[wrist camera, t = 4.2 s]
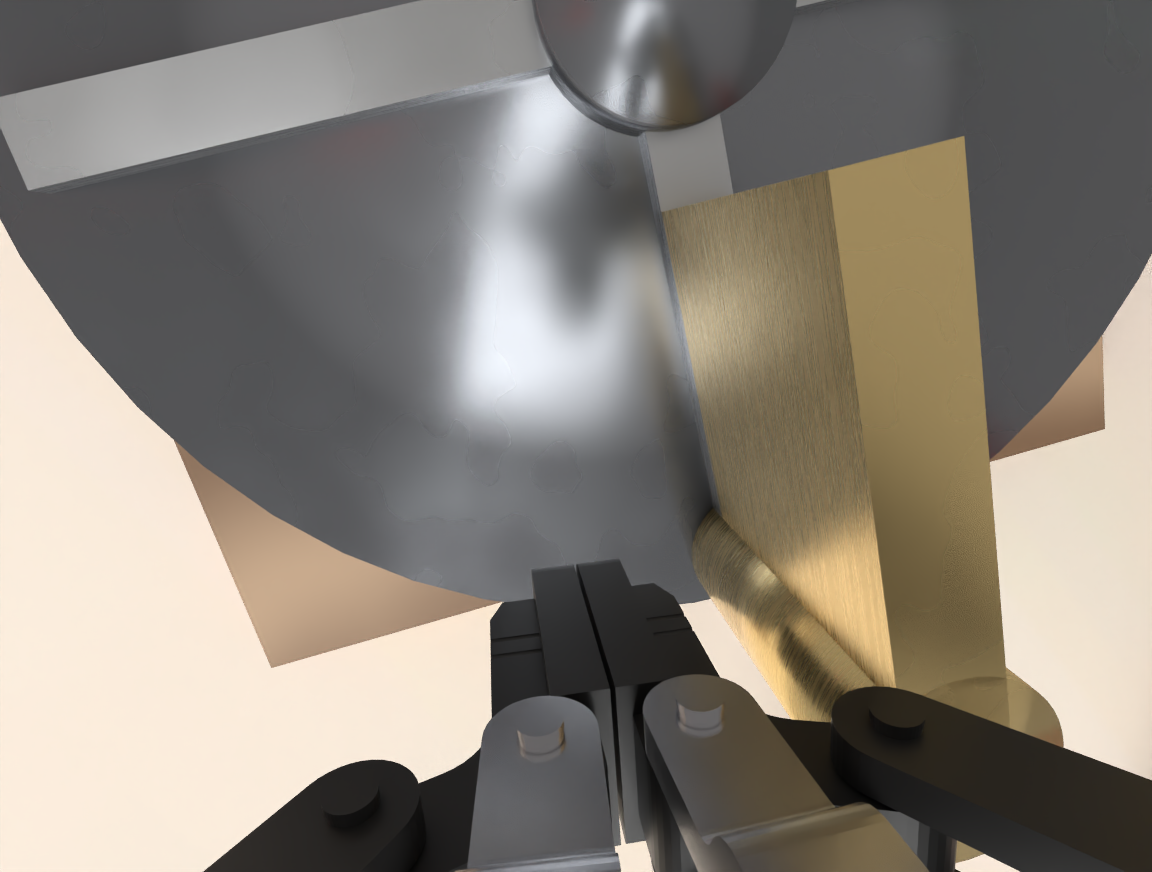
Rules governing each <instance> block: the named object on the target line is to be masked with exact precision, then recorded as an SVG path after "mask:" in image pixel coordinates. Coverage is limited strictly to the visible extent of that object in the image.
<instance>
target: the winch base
mask: <svg viewBox="0 0 1152 872" xmlns="http://www.w3.org/2000/svg"><path fill="white" fill-rule="evenodd" d="M1103 429H1105V419H1104V383H1103V347H1102V336H1101V337H1100V339H1099V340H1098V342H1097V343H1096V345H1095V346H1094V347H1093V348H1092V350H1091V351H1090V352H1089V353H1088V355H1087V356H1086V357H1085V358H1084V360H1083V361H1082V362H1081V363H1080V364H1079V366H1078V367H1077V368H1076V369H1075V371H1074V372H1073V373H1072V374H1071V376H1070V377H1069V378H1068V379H1067V381H1066V382H1065V383H1064V384H1063V386H1062V387H1061V388H1060V389H1059V391H1058V392H1057V393H1056V394H1055V395H1054V397H1053V398H1052V399H1051V400H1050V402H1049V403H1048V404H1047V405H1046V406H1045V407H1044V408H1043V409H1042V410H1041V411H1040V412H1039V413H1038V414H1037V415H1036V416H1035V417H1034V418H1033V419H1032V420H1031V421H1030V422H1029V423H1028V424H1027V425H1026V426H1025V427H1024V428H1023V429H1022V430H1021V431H1020V432H1019V433H1018V434H1017V435H1016V436H1015V437H1014V438H1013V439H1012V440H1011V441H1010V442H1009V443H1008V444H1007V445H1006V446H1005V447H1004V448H1003V449H1002V450H1001V451H1000V452H999V453H997V454H996V455H995V456H994V457H993V458H991V459H990V462H991V461H995V460H998V459H1002V458H1005V457H1009V456H1012V455H1016V454H1019V453H1023V452H1026V451H1030V450H1033V449H1037V448H1040V447H1043V446H1047V445H1050V444H1054V443H1057V442H1061V441H1064V440H1068V439H1071V438H1075V437H1078V436H1082V435H1085V434H1089V433H1092V432H1096V431H1099V430H1103ZM174 441H175V440H174ZM175 444H176V446H177V448H178V451H179V453H180V455H181V458H182V460H183V462H184V465H185V467H186V469H187V472H188V474H189V476H190V479H191V481H192V483H193V486H194V488H195V490H196V493H197V495H198V497H199V500H200V502H201V504H202V507H203V509H204V511H205V514H206V516H207V518H208V521H209V523H210V525H211V528H212V530H213V532H214V535H215V537H216V539H217V542H218V544H219V546H220V549H221V551H222V554H223V556H224V558H225V561H226V563H227V565H228V568H229V570H230V572H231V575H232V577H233V579H234V582H235V584H236V586H237V589H238V591H239V593H240V596H241V598H242V600H243V603H244V605H245V607H246V610H247V612H248V614H249V617H250V619H251V621H252V624H253V626H254V628H255V631H256V633H257V635H258V638H259V640H260V642H261V645H262V647H263V649H264V652H265V654H266V656H267V659H268V661H269V663H270V666H271V668H273V667H276V666H280V665H283V664H287V663H290V662H294V661H297V660H301V659H304V658H308V657H311V656H315V655H318V654H322V653H325V652H329V651H332V650H336V649H339V648H343V647H346V646H350V645H353V644H357V643H360V642H364V641H367V640H371V639H374V638H378V637H381V636H385V635H388V634H392V633H395V632H398V631H402V630H405V629H409V628H412V627H416V626H419V625H423V624H426V623H430V622H433V621H437V620H440V619H444V618H447V617H451V616H454V615H458V614H461V613H465V612H468V611H472V610H475V609H479V608H482V607H486V606H489V605H493V604H496V603H500V601H493V600H485V599H481V598H477V597H474V596H470V595H466V594H462V593H458V592H454V591H451V590H447V589H443V588H439V587H435V586H431V585H428V584H424V583H420V582H416V581H413V580H410V579H408V578H405V577H403V576H400V575H397V574H395V573H392V572H390V571H387V570H385V569H382V568H380V567H377V566H375V565H372V564H370V563H367V562H365V561H362V560H359V559H357V558H354V557H352V556H349V555H347V554H344V553H342V552H340V551H338V550H336V549H335V548H333V547H331V546H329V545H327V544H325V543H323V542H322V541H320V540H318V539H316V538H314V537H312V536H310V535H309V534H307V533H305V532H303V531H301V530H299V529H298V528H296V527H294V526H292V525H290V524H288V523H286V522H285V521H283V520H281V519H279V518H277V517H275V516H273V515H272V514H270V513H269V512H268V511H266V510H265V509H263V508H262V507H260V506H259V505H258V504H256V503H255V502H253V501H252V500H250V499H249V498H248V497H246V496H245V495H243V494H242V493H241V492H239V491H238V490H236V489H235V488H233V487H232V486H231V485H229V484H228V483H226V482H225V481H224V480H222V479H221V478H219V477H218V476H216V475H215V474H214V473H212V472H211V471H209V470H208V469H207V468H205V467H204V466H203V465H201V464H200V463H199V462H198V461H197V460H196V459H195V458H194V457H193V456H191V455H190V454H189V453H188V452H187V451H186V450H185V449H184V448H183V447H181V446H180V445H179V444H178V443H177V442H176V441H175Z"/></svg>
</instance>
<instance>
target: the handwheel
mask: <svg viewBox="0 0 1152 872" xmlns="http://www.w3.org/2000/svg"><path fill="white" fill-rule="evenodd" d="M0 219H1V221H2V223H3V225H4V227H5V228H6V230H7V232H8V234H9V236H10V238H11V240H12V242H13V243H14V245H15V247H16V249H17V251H18V253H19V255H20V257H21V258H22V260H23V261H24V262H25V264H26V265H27V267H28V268H29V270H30V271H31V273H32V274H33V275H34V277H35V278H36V280H37V281H38V283H39V284H40V286H41V287H42V288H43V290H44V291H45V293H46V294H47V296H48V297H49V299H50V300H51V301H52V303H53V304H54V306H55V307H56V309H57V310H58V312H59V313H60V314H61V316H62V317H63V319H64V320H65V322H66V323H67V325H68V326H69V327H70V329H71V330H72V332H73V333H74V335H75V336H76V338H77V339H78V340H79V341H80V342H81V343H82V344H83V346H84V347H85V348H86V349H87V350H88V351H89V352H90V353H91V355H92V356H93V357H94V358H95V359H96V360H97V361H98V363H99V364H100V365H101V366H102V367H103V368H104V369H105V370H106V372H107V373H108V374H109V375H110V376H111V377H112V378H113V380H114V381H115V382H116V383H117V384H118V385H119V386H120V388H121V389H122V390H123V391H124V392H125V393H126V394H127V395H128V397H129V398H130V399H131V400H132V401H133V402H134V403H135V405H136V406H137V407H138V408H139V409H140V410H141V411H143V412H144V413H145V414H146V415H147V416H148V417H149V418H150V419H151V420H153V421H154V422H155V423H156V424H157V425H158V426H159V427H160V428H161V429H163V430H164V431H165V432H166V433H167V434H168V435H169V436H170V437H171V438H173V439H174V440H175V441H176V442H177V443H178V444H179V445H180V446H181V447H183V448H184V449H185V450H186V451H187V452H188V453H189V454H190V455H191V456H193V457H194V458H195V459H196V460H197V461H198V462H199V463H200V464H201V465H203V466H204V467H205V468H207V469H208V470H209V471H211V472H212V473H214V474H215V475H216V476H218V477H219V478H221V479H222V480H224V481H225V482H226V483H228V484H229V485H231V486H232V487H233V488H235V489H236V490H238V491H239V492H241V493H242V494H243V495H245V496H246V497H248V498H249V499H250V500H252V501H253V502H255V503H256V504H258V505H259V506H260V507H262V508H263V509H265V510H266V511H268V512H269V513H270V514H272V515H273V516H275V517H277V518H279V519H281V520H283V521H285V522H286V523H288V524H290V525H292V526H294V527H296V528H298V529H299V530H301V531H303V532H305V533H307V534H309V535H310V536H312V537H314V538H316V539H318V540H320V541H322V542H323V543H325V544H327V545H329V546H331V547H333V548H335V549H336V550H338V551H340V552H342V553H344V554H347V555H349V556H352V557H354V558H357V559H359V560H362V561H365V562H367V563H370V564H372V565H375V566H377V567H380V568H382V569H385V570H387V571H390V572H392V573H395V574H397V575H400V576H403V577H405V578H408V579H410V580H413V581H416V582H420V583H424V584H428V585H431V586H435V587H439V588H443V589H447V590H451V591H454V592H458V593H462V594H466V595H470V596H474V597H477V598H481V599H485V600H493V601H500V602H511V601H519V600H527V599H534V597H533V587H532V576H531V570H532V569H540V568H548V567H556V566H564V565H572V564H573V565H574V567H575V571H576V564H579V563H587V562H595V561H603V560H611V559H620V561H621V564H622V566H623V568H624V570H625V572H626V575H627V577H628V579H629V581H630V584H631V586H634V585H642V584H649V583H655V584H656V585H658V586H659V587H661V588H662V589H664V590H665V591H667V592H669V593H670V594H672V595H673V596H674V597H675V599H676V600H677V602H678V604H686V603H694V602H699V601H703V600H707V599H712V601H713V602H714V604H715V605H716V607H717V608H718V610H719V611H720V613H721V614H722V616H723V617H724V619H725V620H726V622H727V623H728V625H729V626H730V628H731V629H732V631H733V632H734V634H735V635H736V637H737V638H738V640H739V641H740V643H741V644H742V646H743V647H744V649H745V650H746V652H747V653H748V655H749V656H750V658H751V659H752V661H753V662H754V664H755V665H756V667H757V668H758V670H759V671H760V673H761V674H762V676H763V677H764V679H765V680H766V682H767V683H768V685H769V686H770V688H771V689H772V691H773V692H774V694H775V695H776V697H777V698H778V700H779V701H780V703H781V704H782V706H783V707H784V709H785V710H786V712H787V713H788V715H789V716H790V718H791V719H793V720H806V721H818V722H831V710H832V707H833V704H834V703H835V701H836V700H837V699H838V698H839V697H840V696H841V695H843V694H845V693H847V692H848V691H851V690H854V689H857V688H863V687H872V686H882V687H892V688H898V689H903V690H907V691H911V692H914V693H917V694H920V695H922V696H925V697H928V698H930V699H933V700H936V701H939V702H941V703H944V704H947V705H949V706H952V707H955V708H957V709H960V710H963V711H966V712H968V713H971V714H974V715H976V716H979V717H982V718H984V719H987V720H990V721H993V722H995V723H998V724H1001V725H1003V726H1006V727H1009V728H1011V729H1014V730H1017V731H1020V732H1022V733H1025V734H1028V735H1030V736H1033V737H1036V738H1038V739H1041V740H1044V741H1047V742H1049V743H1052V744H1055V745H1057V746H1060V747H1063V735H1062V729H1061V726H1060V722H1059V719H1058V717H1057V715H1056V713H1055V711H1054V710H1053V708H1052V707H1051V706H1050V704H1049V703H1048V701H1047V700H1046V699H1045V698H1044V697H1042V696H1041V695H1040V694H1039V693H1038V692H1037V691H1036V690H1034V689H1033V688H1032V687H1030V686H1029V685H1028V684H1027V683H1025V682H1024V681H1023V680H1022V679H1020V678H1019V677H1018V676H1016V675H1015V674H1014V673H1013V672H1011V671H1010V670H1009V669H1008V668H1006V666H1005V653H1004V640H1003V627H1002V614H1001V602H1000V589H999V576H998V563H997V550H996V537H995V524H994V512H993V499H992V486H991V473H990V459H991V458H993V457H994V456H995V455H996V454H997V453H999V452H1000V451H1001V450H1002V449H1003V448H1004V447H1005V446H1006V445H1007V444H1008V443H1009V442H1010V441H1011V440H1012V439H1013V438H1014V437H1015V436H1016V435H1017V434H1018V433H1019V432H1020V431H1021V430H1022V429H1023V428H1024V427H1025V426H1026V425H1027V424H1028V423H1029V422H1030V421H1031V420H1032V419H1033V418H1034V417H1035V416H1036V415H1037V414H1038V413H1039V412H1040V411H1041V410H1042V409H1043V408H1044V407H1045V406H1046V405H1047V404H1048V403H1049V402H1050V400H1051V399H1052V398H1053V397H1054V395H1055V394H1056V393H1057V392H1058V391H1059V389H1060V388H1061V387H1062V386H1063V384H1064V383H1065V382H1066V381H1067V379H1068V378H1069V377H1070V376H1071V374H1072V373H1073V372H1074V371H1075V369H1076V368H1077V367H1078V366H1079V364H1080V363H1081V362H1082V361H1083V360H1084V358H1085V357H1086V356H1087V355H1088V353H1089V352H1090V351H1091V350H1092V348H1093V347H1094V346H1095V345H1096V343H1097V342H1098V340H1099V339H1100V337H1101V336H1102V334H1103V333H1104V331H1105V330H1106V328H1107V327H1108V325H1109V324H1110V322H1111V320H1112V319H1113V317H1114V316H1115V314H1116V313H1117V311H1118V310H1119V308H1120V307H1121V305H1122V304H1123V302H1124V300H1125V299H1126V297H1127V296H1128V294H1129V293H1130V291H1131V290H1132V288H1133V287H1134V285H1135V283H1136V282H1137V280H1138V279H1139V277H1140V275H1141V273H1142V271H1143V269H1144V267H1145V265H1146V264H1147V262H1148V260H1149V258H1150V256H1151V254H1152V0H0ZM982 854H984V853H982V852H980V851H978V850H976V849H974V848H972V847H970V846H968V845H966V844H963V843H961V842H959V841H957V849H956V861H955V863H958V862H961V861H965V860H969V859H972V858H974V857H977V856H980V855H982Z"/></svg>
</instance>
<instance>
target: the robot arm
mask: <svg viewBox="0 0 1152 872" xmlns="http://www.w3.org/2000/svg"><path fill="white" fill-rule="evenodd" d="M531 576H532V587H533V597H534V599H527V600H519V601H511V602H504V603H502V604H501V606H500V607H499V609H498V610H497V611H496V613H495V614H494V616H493V617H492V619H491V620H490V638H491V697H492V719H491V720H490V721H489V723H488V724H487V726H486V728H485V730H484V732H483V736H482V743H481V748H480V749H479V750H478V751H477V752H476V753H475V754H474V755H473V756H472V757H470V758H469V759H468V760H467V761H465V762H464V763H462V764H461V765H459V766H457V767H456V768H454V769H452V770H450V771H448V772H446V773H443V774H441V775H438V776H436V777H434V778H431V779H429V780H426V781H424V782H421V783H419V784H418V781H417V779H416V777H415V776H414V774H413V773H412V772H411V771H410V770H409V769H408V768H406V767H404V766H403V765H401V764H398V763H395V762H392V761H386V760H366V761H360V762H355V763H351V764H348V765H345V766H342V767H339V768H337V769H335V770H333V771H331V772H328V773H327V774H325V775H323V776H322V777H320V778H318V779H317V780H316V781H314V782H313V783H311V784H310V785H309V786H308V787H306V788H305V789H304V790H303V791H301V792H300V793H299V794H298V795H297V796H295V797H294V798H293V799H292V800H290V801H289V802H288V803H287V804H286V805H284V806H283V807H282V808H281V809H279V810H278V811H277V812H276V813H275V814H273V815H272V816H271V817H270V818H268V819H267V820H266V821H265V822H264V823H262V824H261V825H260V826H259V827H257V828H256V829H255V830H254V831H252V832H251V833H250V834H249V835H248V836H246V837H245V838H244V839H243V840H241V841H240V842H239V843H238V844H237V845H235V846H234V847H233V848H232V849H230V850H229V851H228V852H227V853H226V854H224V855H223V856H222V857H221V858H219V859H218V860H217V861H216V862H215V863H213V864H212V865H211V866H210V867H208V868H207V869H206V870H205V871H204V872H621V869H620V862H619V857H618V853H615V847H614V846H618V845H621V839H620V824H619V817H620V821H621V825H622V830H623V834H624V838H625V842H626V844H628V843H634V842H640V841H646V842H647V846H648V850H649V853H650V857H651V862H652V872H960V871H958V870H956V869H955V861H956V849H957V841H959V842H961V843H963V844H966V845H968V846H970V847H972V848H974V849H976V850H978V851H980V852H982V853H984V854H986V855H988V856H990V857H992V858H994V859H996V860H998V861H1000V862H1002V863H1004V864H1006V865H1008V866H1010V867H1012V868H1014V869H1016V870H1018V871H1020V872H1152V780H1149V779H1146V778H1144V777H1141V776H1138V775H1136V774H1133V773H1130V772H1128V771H1125V770H1122V769H1119V768H1117V767H1114V766H1111V765H1109V764H1106V763H1103V762H1101V761H1098V760H1095V759H1092V758H1090V757H1087V756H1084V755H1082V754H1079V753H1076V752H1074V751H1071V750H1068V749H1065V748H1063V747H1060V746H1057V745H1055V744H1052V743H1049V742H1047V741H1044V740H1041V739H1038V738H1036V737H1033V736H1030V735H1028V734H1025V733H1022V732H1020V731H1017V730H1014V729H1011V728H1009V727H1006V726H1003V725H1001V724H998V723H995V722H993V721H990V720H987V719H984V718H982V717H979V716H976V715H974V714H971V713H968V712H966V711H963V710H960V709H957V708H955V707H952V706H949V705H947V704H944V703H941V702H939V701H936V700H933V699H930V698H928V697H925V696H922V695H920V694H917V693H914V692H911V691H907V690H903V689H898V688H892V687H882V686H872V687H863V688H857V689H854V690H851V691H848V692H847V693H845V694H843V695H841V696H840V697H839V698H838V699H837V700H836V701H835V703H834V704H833V707H832V710H831V722H818V721H806V720H793V719H785V718H779V717H774V716H770V715H767V714H765V713H764V711H763V710H762V709H761V707H760V706H759V705H758V703H757V702H756V701H755V699H754V698H753V697H752V696H751V695H750V694H749V692H747V691H746V690H745V689H744V688H742V687H741V686H739V685H737V684H736V683H734V682H731V681H729V680H727V679H723V678H720V677H719V675H718V673H717V671H716V670H715V668H714V666H713V664H712V662H711V661H710V659H709V657H708V655H707V654H706V652H705V650H704V648H703V646H702V645H701V643H700V641H699V639H698V638H697V636H696V634H695V632H694V631H692V627H691V625H690V623H689V622H688V620H687V618H686V617H684V613H683V611H682V609H681V607H680V606H679V604H678V602H677V600H676V599H675V597H674V596H673V595H672V594H670V593H669V592H667V591H665V590H664V589H662V588H661V587H659V586H658V585H656V584H655V583H649V584H642V585H634V586H631V584H630V581H629V579H628V577H627V575H626V572H625V570H624V568H623V566H622V564H621V561H620V559H611V560H603V561H595V562H587V563H579V564H576V571H575V567H574V565H573V564H572V565H564V566H556V567H548V568H540V569H532V570H531Z"/></svg>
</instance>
